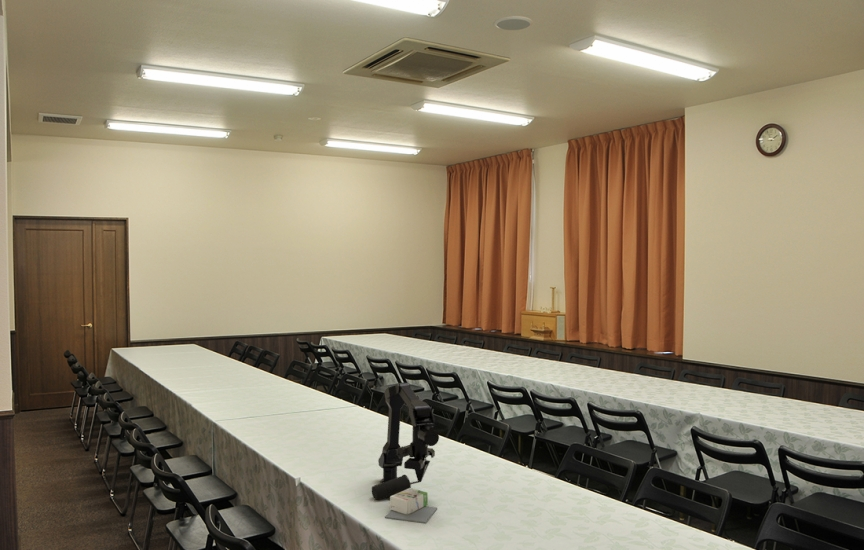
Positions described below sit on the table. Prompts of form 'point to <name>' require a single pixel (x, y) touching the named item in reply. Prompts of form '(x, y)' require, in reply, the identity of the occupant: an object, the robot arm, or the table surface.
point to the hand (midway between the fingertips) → (419, 481)
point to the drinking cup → (391, 487)
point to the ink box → (408, 501)
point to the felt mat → (413, 515)
